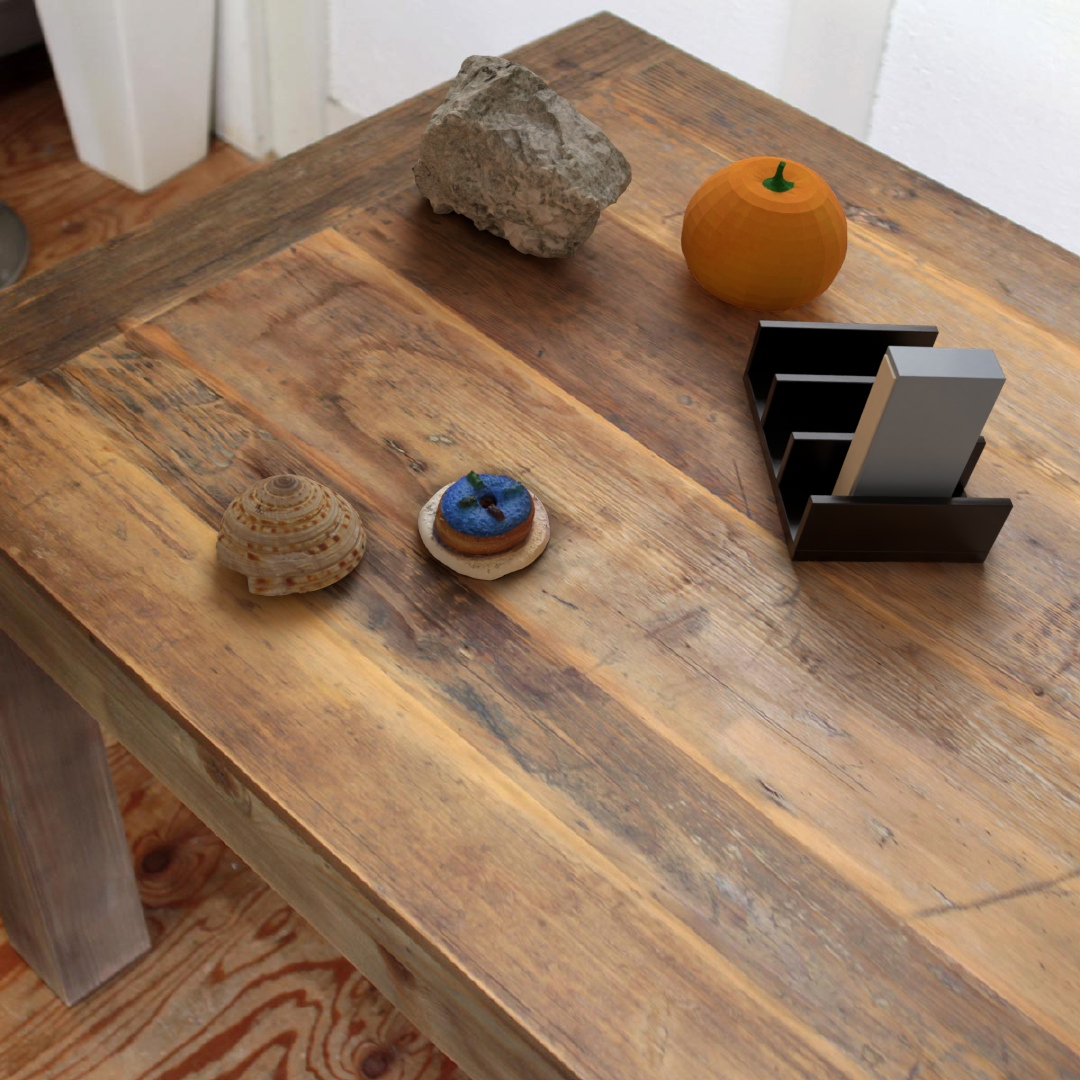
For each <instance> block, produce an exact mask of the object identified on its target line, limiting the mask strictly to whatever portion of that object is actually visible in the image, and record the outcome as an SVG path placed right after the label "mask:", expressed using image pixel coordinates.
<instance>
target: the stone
mask: <svg viewBox="0 0 1080 1080" xmlns="http://www.w3.org/2000/svg"><path fill="white" fill-rule="evenodd" d="M419 139H420V140H419V144H418V147H419V149H420V150H419V151H418V153H419V157H418V159H417V160H416V163H415V164H414V166H413V167H412V168H411V171H412V172H413V175H414V182H415V185H416V187H417V191H418V193H419V194H420V195H421V196H422V197H423V198H426V199H428V200H429V202H430V206H431V207H432V211H433V213H435V214H437V215H445V214H446V215H447V214H450V213H451V212H453V211H454V212H455V213H456V214H457V215H461V214H462V215H463V216H465V217H466V218H468V219H470V220H472V221H473V224H474V226H475V227H476V229H478V230H479V231H484V230H487V231H488V232H489V233H490V234H492V235H493V236H496V237H499V238H502V239H504V240H507V241H509V244H510V246H511V247H513V248H514V249H515V250H517V252H518V251H519V252H520V253H522V254H524V255H528V254H529V255H532V256H534V257H538V258H546V259H550V258H551V259H552V258H573V257H574V256H575V253H576V250H577V249H578V248H579V246H580V245H581V244H584V243H586V242H587V241H588V240H589V239H590V238H591V236H592V235H593V234H594V232H595V229H596V226H597V224H598V220H599V219H600V218H601V217H600V216H601V212H603V211H604V210H606V209H608V207H609V206H611V205H614V204H617V202H618V199H619V198H620V197H621V196H622V195H623V194H624V193H625V192H626V191H627V188H629V186H630V185H631V184H630V183H631V182H632V180H633V179H632V178H633V173H632V172H633V171H632V165H631V163H630V162H629V161H628V160H627V158H626V157H625V155H624V153H623V152H622V151H621V150H620V149H618V147H616V145H615V144H614V143H613V142H612V141H611V140H610V138H609V137H608V136H607V134H605V132H604V131H603V130H602V129H601V128H600V127H599V126H598V125H596V124H595V123H594V122H593V121H591V120H590V119H588V118H587V117H586V116H585V115H583V114H582V113H581V112H580V111H579V110H577V108H575V106H574V105H573V104H572V103H571V102H570V101H569V100H568V99H566V98H564V97H562V96H560V95H559V94H558V93H557V92H556V91H555V90H553V89H551V87H550V86H548V84H547V83H546V82H545V81H544V80H543V79H542V78H541V76H540V75H538V74H536V73H535V72H534V71H532V70H530V69H529V68H527V67H526V66H524V65H521V64H519V63H518V62H512V61H510V60H507V59H506V58H503V57H500V56H494V55H481V54H472V55H470V56H468V57H466V58H465V59H464V60H463V61H462V62H461V65H460V69H459V70H458V73H457V74H456V76H455V78H454V80H453V82H452V83H451V84H450V87H449V89H448V91H447V93H446V95H445V99H444V101H443V103H442V104H441V105H440V106H438V107H437V108H436V109H435V110H434V111H433V112H432V114H431V116H430V118H429V121H428V124H427V126H426V128H425V130H424V132H423V133H422V134H420V138H419Z"/></svg>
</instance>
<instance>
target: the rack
mask: <svg viewBox="0 0 1080 1080" xmlns="http://www.w3.org/2000/svg"><path fill="white" fill-rule="evenodd" d="M939 334H940V331H939V329H938V327H937V325H925V324H924V325H923V324H922V325H919V324H889V323H887V324H886V323H885V324H884V323H861V322H859V323H858V322H856V323H855V322H828V321H825V322H823V321H793V320H764V319H763V320H761V319H760V320H758V323H757V325H756V330H755V334H754V337H753V341H752V344H751V348H750V351H749V355H748V358H747V362H746V365H745V369H744V373H743V376H742V381H743V385H744V387H745V388H744V389H745V393H746V396H747V400H748V404H749V408H750V411H751V415H752V419H753V422H754V426H755V430H756V433H757V437H758V441H759V445H760V449H761V452H762V457H763V459H764V464H765V467H766V470H767V475H768V478H769V483H770V486H771V490H772V494H773V497H774V501H775V505H776V508H777V513H778V515H779V520H780V524H781V528H782V531H783V536H784V538H785V541H786V542H785V543H786V547H787V550H788V554H789V558H790V561H791V562H813V563H817V562H823V563H824V562H825V563H827V562H828V563H829V562H830V563H832V562H833V563H931V564H932V563H934V564H935V563H938V564H939V563H940V564H941V563H943V564H945V563H946V564H948V563H949V564H950V563H951V564H953V563H955V564H984V563H985V561H987V558H988V556H989V554H990V552H991V551H992V548H993V547H994V544H995V542H996V541H997V538H998V536H999V535H1000V533H1001V531H1002V529H1003V527H1004V526H1005V524H1006V521H1007V520H1008V518H1009V516H1010V514H1011V512H1012V510H1013V508H1014V504H1013V502H1012V499H1011V498H1010V497H970V496H969V497H968V495H967V491H966V490H965V489H966V487H967V486H968V483H969V480H970V478H971V477H972V474H973V472H974V470H975V468H976V466H977V464H978V462H979V460H980V458H981V456H982V453H983V452H984V450H985V448H986V446H987V441H986V439H985V436H983V435H980V436H979V438H978V440H977V442H976V444H975V447H974V449H973V451H972V453H971V455H970V457H969V459H968V461H967V463H966V466H965V468H964V470H963V472H962V474H961V476H960V478H959V480H958V482H957V485H956V487H955V489H954V491H953V493H952V495H951V497H904V496H836V495H832V493H833V490H834V487H835V485H836V482H837V480H838V477H839V474H840V472H841V469H842V466H843V464H844V461H845V458H846V456H847V453H848V450H849V448H850V445H851V442H852V440H853V437H854V434H855V432H856V429H857V427H858V424H859V421H860V419H861V416H862V413H863V411H864V408H865V405H866V403H867V400H868V397H869V395H870V392H871V389H872V387H873V384H874V381H875V379H876V376H877V374H878V371H879V368H880V366H881V363H882V360H883V358H884V355H885V354H886V351H887V349H888V346H903V347H935V343H936V341H937V338H938V336H939Z"/></svg>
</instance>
